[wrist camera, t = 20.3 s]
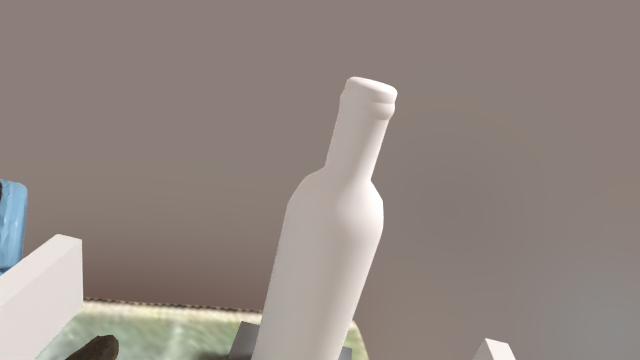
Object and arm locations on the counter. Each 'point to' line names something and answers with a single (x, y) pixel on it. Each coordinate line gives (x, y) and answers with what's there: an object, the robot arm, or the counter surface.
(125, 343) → the counter surface
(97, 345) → the hand tool
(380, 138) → the bottle
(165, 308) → the counter surface
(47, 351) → the counter surface
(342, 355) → the slate stand
